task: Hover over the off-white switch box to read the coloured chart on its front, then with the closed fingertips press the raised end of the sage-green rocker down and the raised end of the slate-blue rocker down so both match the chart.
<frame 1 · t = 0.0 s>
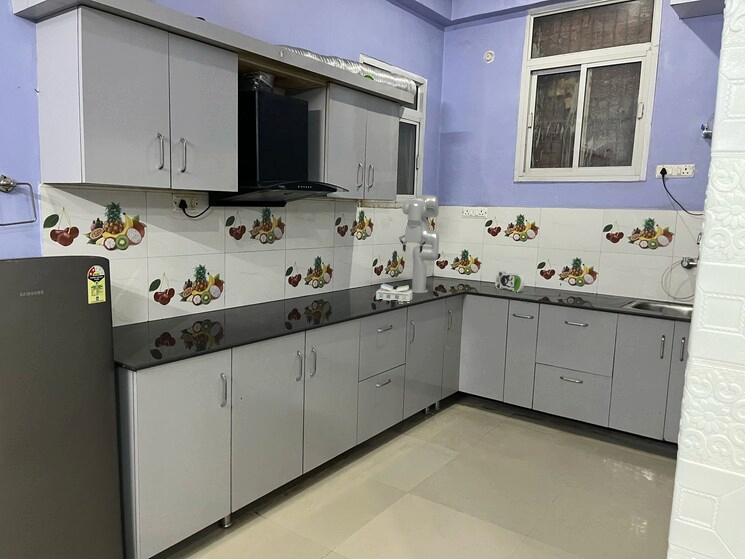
hand: (412, 251, 335), 31 cm above the counter, tool pointing down, fingers open, 9 cm apart
switch box: (394, 298, 351), on the counter
slate rocker: (387, 287, 351), point 7 cm above the counter, hinge at -14.0°
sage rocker: (402, 288, 349), point 7 cm above the counter, hinge at 14.0°
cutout: (508, 291, 405), on the counter
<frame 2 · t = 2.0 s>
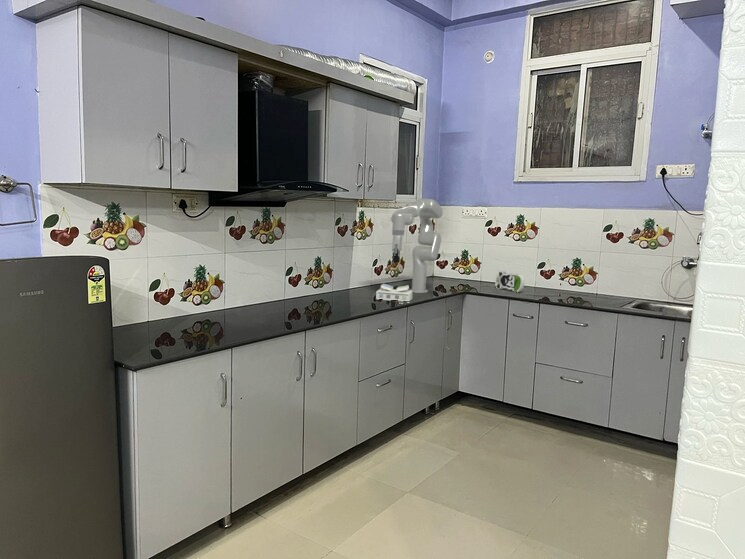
hand: (396, 262, 349), 23 cm above the counter, tool pointing down, fingers closed
nothing on the counter moved.
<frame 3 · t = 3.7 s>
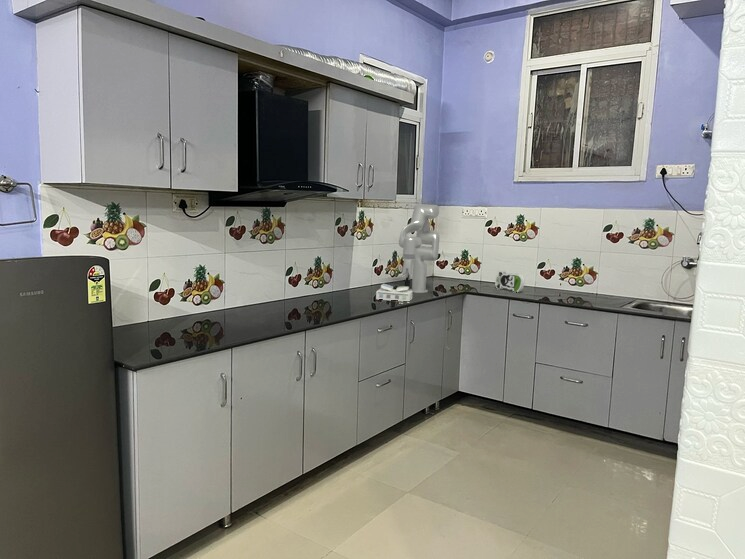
hand: (407, 286, 348), 9 cm above the counter, tool pointing down, fingers closed
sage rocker: (402, 288, 349), point 7 cm above the counter, hinge at 13.1°, touching gripper
everything else where it was.
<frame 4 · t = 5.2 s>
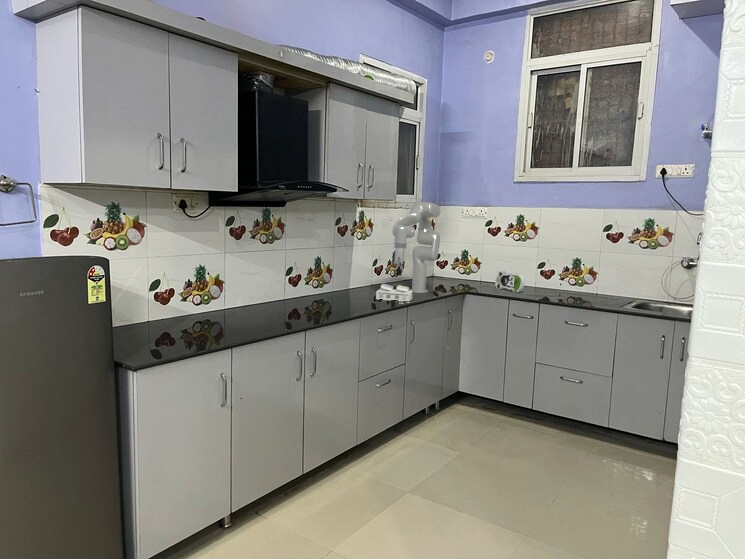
hand: (398, 275, 348), 15 cm above the counter, tool pointing down, fingers closed
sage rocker: (402, 288, 349), point 7 cm above the counter, hinge at -8.3°
everything else where it was.
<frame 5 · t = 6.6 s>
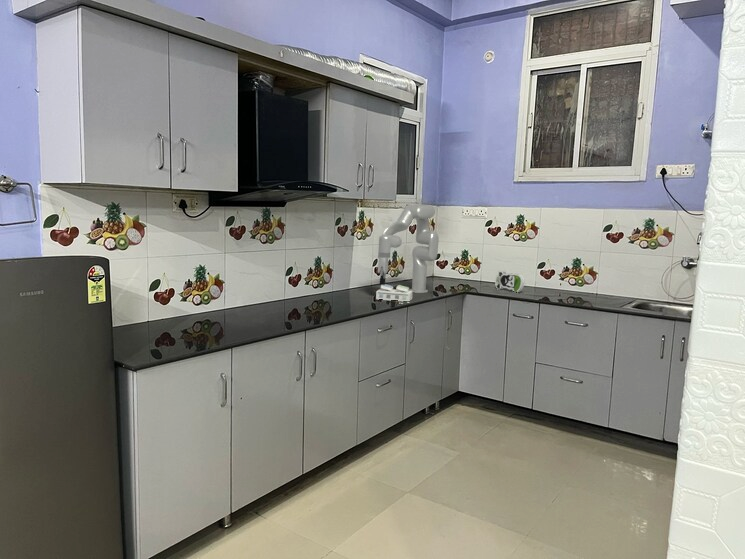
hand: (382, 284, 351), 9 cm above the counter, tool pointing down, fingers closed
slate rocker: (387, 287, 351), point 7 cm above the counter, hinge at -11.8°, touching gripper
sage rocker: (402, 288, 349), point 7 cm above the counter, hinge at -10.4°
everything else where it was.
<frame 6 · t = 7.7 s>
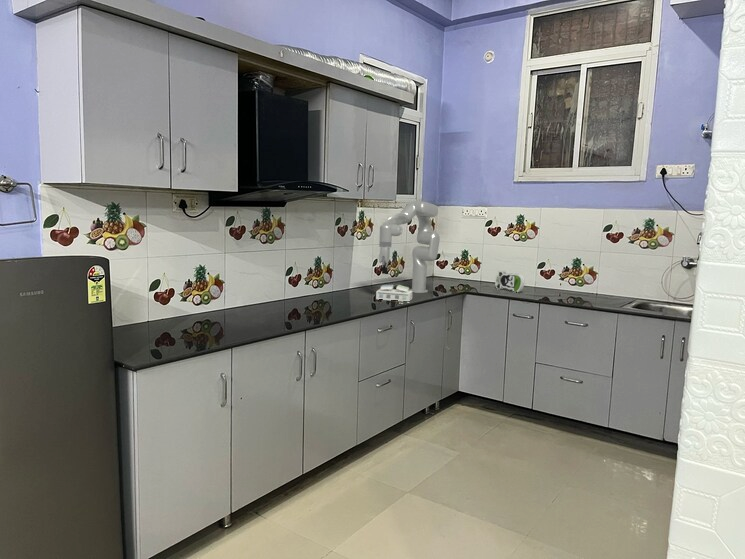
hand: (384, 273, 350), 16 cm above the counter, tool pointing down, fingers closed
slate rocker: (387, 287, 351), point 7 cm above the counter, hinge at 6.7°
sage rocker: (402, 288, 349), point 7 cm above the counter, hinge at -10.8°
everything else where it was.
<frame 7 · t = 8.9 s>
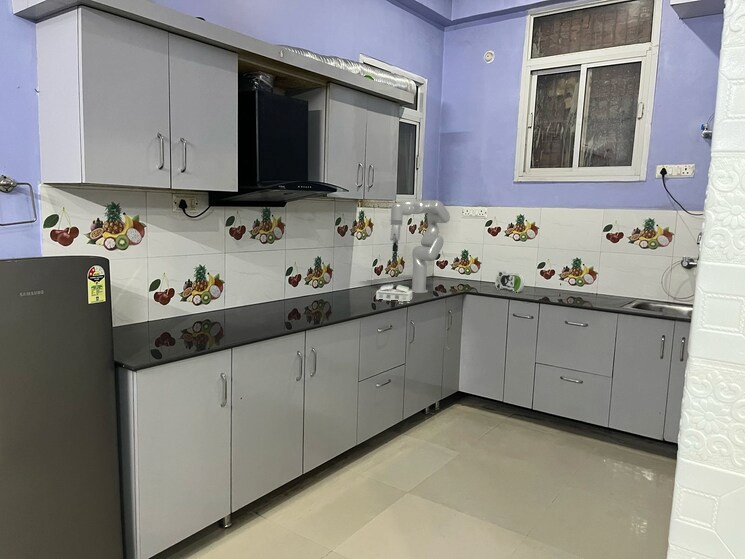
hand: (395, 251, 359), 29 cm above the counter, tool pointing down, fingers closed
slate rocker: (387, 287, 351), point 7 cm above the counter, hinge at 10.8°
everything else where it was.
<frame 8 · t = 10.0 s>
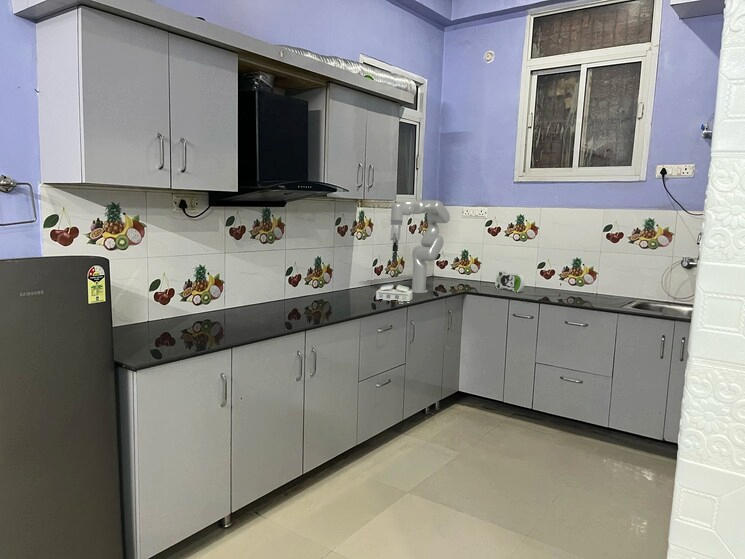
hand: (395, 251, 359), 29 cm above the counter, tool pointing down, fingers closed
slate rocker: (387, 287, 351), point 7 cm above the counter, hinge at 11.9°
everything else where it was.
at the end: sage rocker at -11° (first picture: +14°); slate rocker at +12° (first picture: -14°) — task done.
